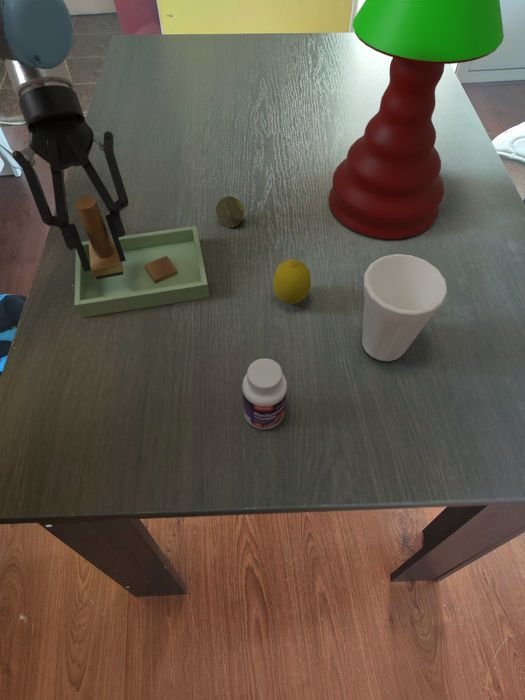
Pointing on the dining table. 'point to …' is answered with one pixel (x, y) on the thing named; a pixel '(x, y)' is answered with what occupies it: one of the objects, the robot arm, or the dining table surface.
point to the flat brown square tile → (161, 269)
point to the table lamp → (408, 111)
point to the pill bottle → (264, 394)
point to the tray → (144, 274)
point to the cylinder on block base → (98, 240)
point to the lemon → (292, 281)
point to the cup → (398, 303)
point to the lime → (229, 211)
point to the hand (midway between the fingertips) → (105, 265)
